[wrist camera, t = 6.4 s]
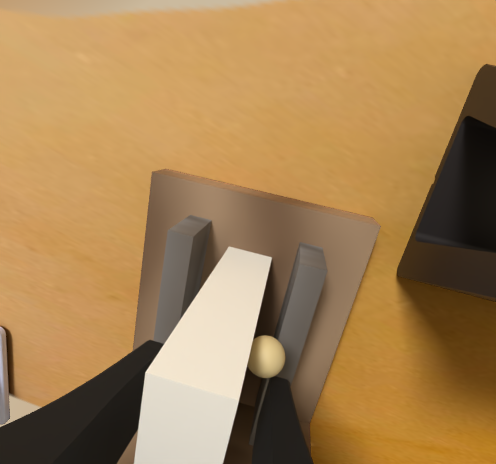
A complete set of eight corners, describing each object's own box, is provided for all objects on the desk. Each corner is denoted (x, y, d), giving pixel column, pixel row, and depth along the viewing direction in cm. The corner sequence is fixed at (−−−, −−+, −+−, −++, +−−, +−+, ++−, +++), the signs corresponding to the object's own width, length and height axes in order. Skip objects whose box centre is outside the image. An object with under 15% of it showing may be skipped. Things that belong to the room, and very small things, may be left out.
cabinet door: (204, 368, 16) (120, 572, 8) (229, 246, 14) (145, 372, 6) (261, 385, 16) (228, 611, 8) (296, 263, 14) (292, 416, 6)
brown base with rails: (142, 365, 19) (64, 476, 12) (166, 169, 15) (72, 188, 9) (304, 413, 18) (306, 558, 12) (372, 217, 14) (430, 277, 8)
